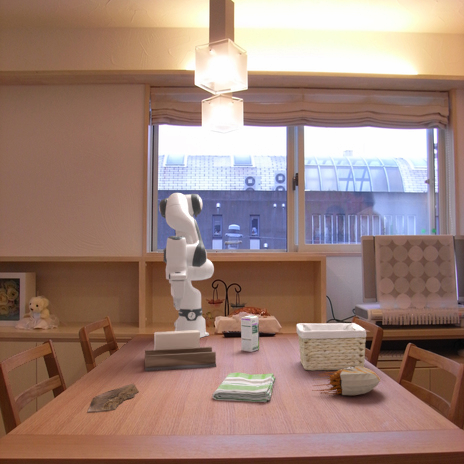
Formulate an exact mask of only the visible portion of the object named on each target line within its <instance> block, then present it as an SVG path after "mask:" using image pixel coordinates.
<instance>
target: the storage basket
mask: <svg viewBox="0 0 464 464" xmlns="http://www.w3.org/2000/svg"><path fill="white" fill-rule="evenodd" d="M296 334H297V336H298V338H297V339H298V345H299V350H298V351H299V353H300V354H299V355H300V359H299V360H300V363H301V365H302V367H303V369H304V370H306V371H310V372H311V371H313V372H314V371H338V370H340V369H344V368H347V367H351V366H355V367H358V366H360V367H365V358H366V357H365V355H366V341H367V339H366V338H367V331H366V329H365V328H363V327H362V326H361V325H359V324H357V323H356V322H351V323H345V322H343V323H337V322H336V323H335V322H334V323H330V322H329V323H306V322H305V323H304V322H303V323H302V322H300V323H297V324H296Z"/></svg>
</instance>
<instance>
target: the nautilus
mask: <svg viewBox="0 0 464 464" xmlns="http://www.w3.org/2000/svg"><path fill="white" fill-rule="evenodd" d="M318 376H319V378H316V379H314V381H317V380H318V381H320V380H321V378H322V377H323V378H324V377H325V376H329V377H327V378H325V380H327V382H329V383H327V384H325V383H324V384H314V385H312V387H319V386H320V387H321V386H327V387H328V388H324V389H316V390H314V389H311V391H315V392H319V393H320V394H319V395H322V394H327V395H328V397H330V396H331V395H332V396H333V395H340V394H341V395H342V396H357V395H364V394H367V393H369V392H371V391H372V390H374V389H375V388H376V387H377V386H378V385H379V383H380V382H381V378H380V376H379V375H378V374H377V373H376V372H375V371H373V370H372V369H370V368H367V367H365V366H364V367H360V366H358V367H355V366H351V367H347V368H344V369H340V370H335V371H330V372H329V371H327V372H322V373H319V374H318Z"/></svg>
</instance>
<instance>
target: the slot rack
mask: <svg viewBox="0 0 464 464" xmlns="http://www.w3.org/2000/svg"><path fill="white" fill-rule="evenodd" d="M216 354H217V353H216V351H213V347H212V346H200V347H196V348H177V349H159V350H154V349H145V350H144V371H145V372H151V371H153V372H154V371H169V370H181V369H183V370H186V369H198V368H199V369H200V368H212V367H213V368H215V367H216V368H217V363H216V361H217V359H216V356H217V355H216Z"/></svg>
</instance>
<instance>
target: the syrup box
mask: <svg viewBox="0 0 464 464" xmlns="http://www.w3.org/2000/svg"><path fill="white" fill-rule="evenodd" d="M259 319H260V317H259V316H257V315H246V316H242V317H240V335H241V337H240V338H241V341H240V342H241V345H240V346H241V351H244V352H250V353H251V352H252V353H253V352H256V351H259V350H260V327H259V326H260V324H259V323H260V322H259V321H260V320H259Z"/></svg>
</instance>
